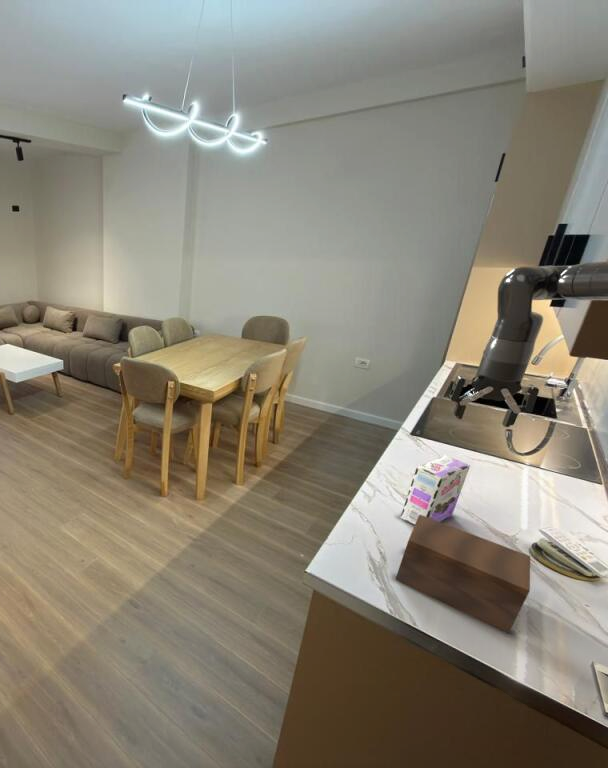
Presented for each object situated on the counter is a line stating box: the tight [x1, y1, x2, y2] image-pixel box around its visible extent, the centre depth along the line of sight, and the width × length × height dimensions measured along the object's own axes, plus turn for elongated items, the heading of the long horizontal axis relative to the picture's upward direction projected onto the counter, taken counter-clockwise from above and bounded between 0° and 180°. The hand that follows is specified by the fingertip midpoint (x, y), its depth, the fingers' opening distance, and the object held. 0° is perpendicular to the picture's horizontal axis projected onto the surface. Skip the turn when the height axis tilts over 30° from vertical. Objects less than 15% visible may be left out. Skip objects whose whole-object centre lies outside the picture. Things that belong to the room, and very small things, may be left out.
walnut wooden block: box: [395, 514, 531, 635], centre depth 84 cm, size 18×12×11 cm, turn 44°
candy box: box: [400, 455, 471, 527], centre depth 104 cm, size 14×6×16 cm, turn 115°
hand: (481, 421), depth 95 cm, fingers open, 8 cm apart
